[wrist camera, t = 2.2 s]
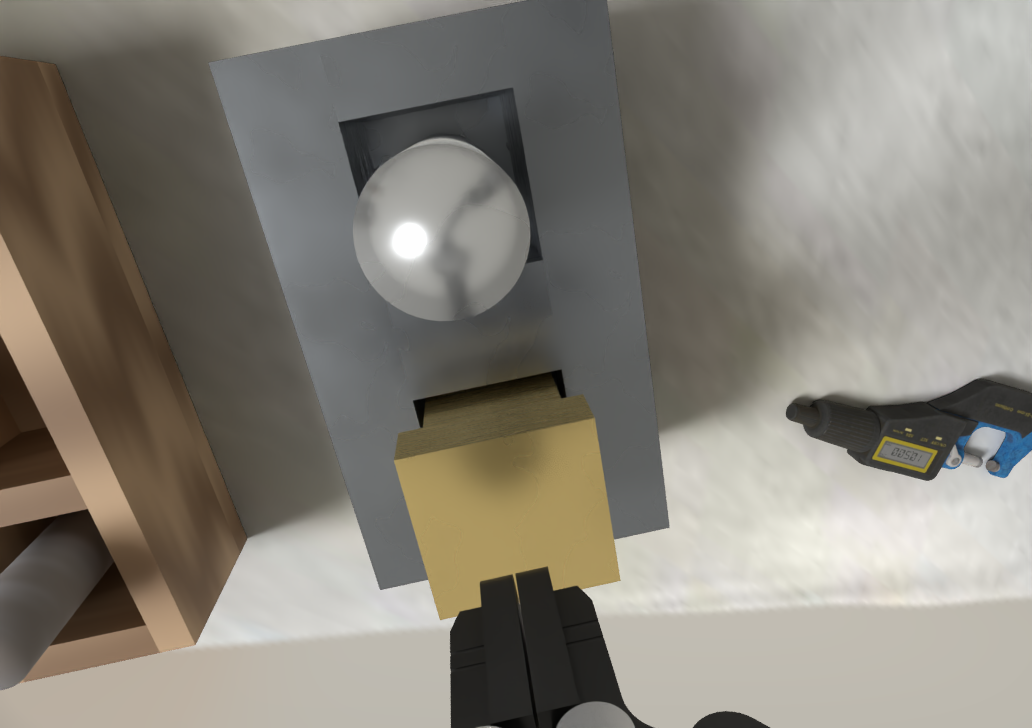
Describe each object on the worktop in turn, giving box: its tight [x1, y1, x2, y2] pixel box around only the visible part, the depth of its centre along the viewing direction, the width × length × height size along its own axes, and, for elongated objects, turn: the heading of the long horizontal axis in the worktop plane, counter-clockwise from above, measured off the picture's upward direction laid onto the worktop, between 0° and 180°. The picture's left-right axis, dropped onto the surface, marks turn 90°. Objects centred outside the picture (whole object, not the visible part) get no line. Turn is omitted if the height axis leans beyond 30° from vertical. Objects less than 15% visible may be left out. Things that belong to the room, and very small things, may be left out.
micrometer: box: [786, 379, 1032, 481], centre depth 28 cm, size 12×2×5 cm
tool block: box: [209, 0, 669, 590], centre depth 22 cm, size 16×10×6 cm, turn 11°
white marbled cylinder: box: [353, 133, 530, 321], centre depth 17 cm, size 3×3×12 cm
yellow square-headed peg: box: [394, 372, 620, 620], centre depth 20 cm, size 5×5×6 cm
